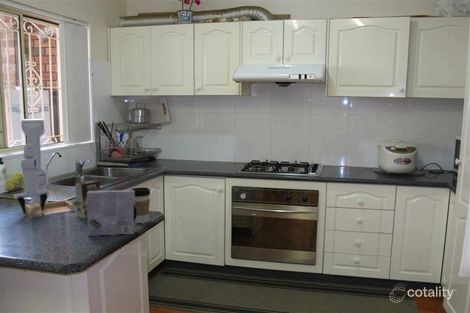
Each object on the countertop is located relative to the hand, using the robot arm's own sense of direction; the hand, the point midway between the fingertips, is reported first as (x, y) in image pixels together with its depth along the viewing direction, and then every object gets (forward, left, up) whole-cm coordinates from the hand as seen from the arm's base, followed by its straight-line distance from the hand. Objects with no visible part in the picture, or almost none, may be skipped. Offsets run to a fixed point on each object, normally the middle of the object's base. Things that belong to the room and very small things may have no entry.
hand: (33, 211), depth 193 cm
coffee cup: (+42, +35, -2) cm, 55 cm away
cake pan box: (+50, +19, -2) cm, 54 cm away
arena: (-1, +10, -1) cm, 11 cm away
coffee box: (+18, +20, -2) cm, 27 cm away
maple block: (0, 0, -2) cm, 2 cm away
